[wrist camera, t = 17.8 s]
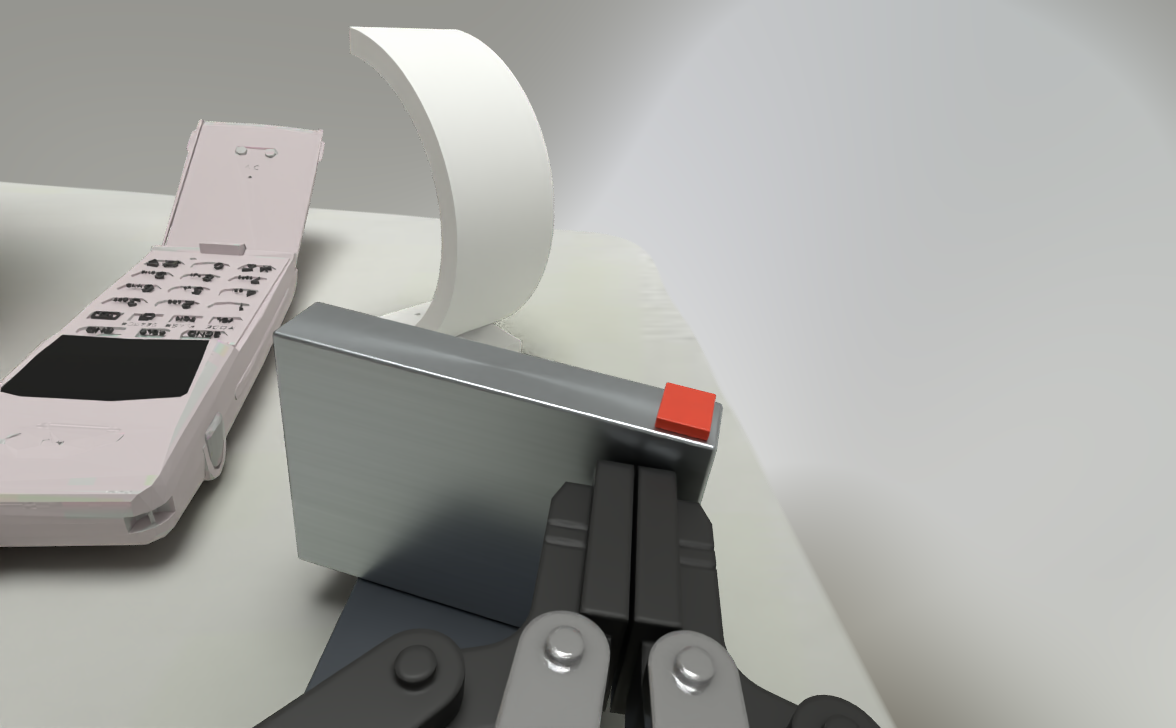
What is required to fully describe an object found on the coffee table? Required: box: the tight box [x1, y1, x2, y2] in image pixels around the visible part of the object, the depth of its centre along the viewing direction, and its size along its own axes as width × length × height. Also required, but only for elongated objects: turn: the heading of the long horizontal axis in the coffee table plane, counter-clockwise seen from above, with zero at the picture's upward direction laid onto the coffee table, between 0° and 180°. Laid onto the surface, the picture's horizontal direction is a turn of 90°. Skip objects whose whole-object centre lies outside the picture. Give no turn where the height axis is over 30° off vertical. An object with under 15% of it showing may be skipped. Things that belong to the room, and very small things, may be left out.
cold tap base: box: [304, 577, 520, 693], centre depth 17 cm, size 6×9×2 cm, turn 176°
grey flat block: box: [272, 302, 723, 627], centre depth 15 cm, size 9×2×7 cm, turn 76°
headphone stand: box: [349, 27, 554, 353], centre depth 26 cm, size 5×6×12 cm
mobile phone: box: [0, 119, 325, 547], centre depth 25 cm, size 6×6×25 cm
